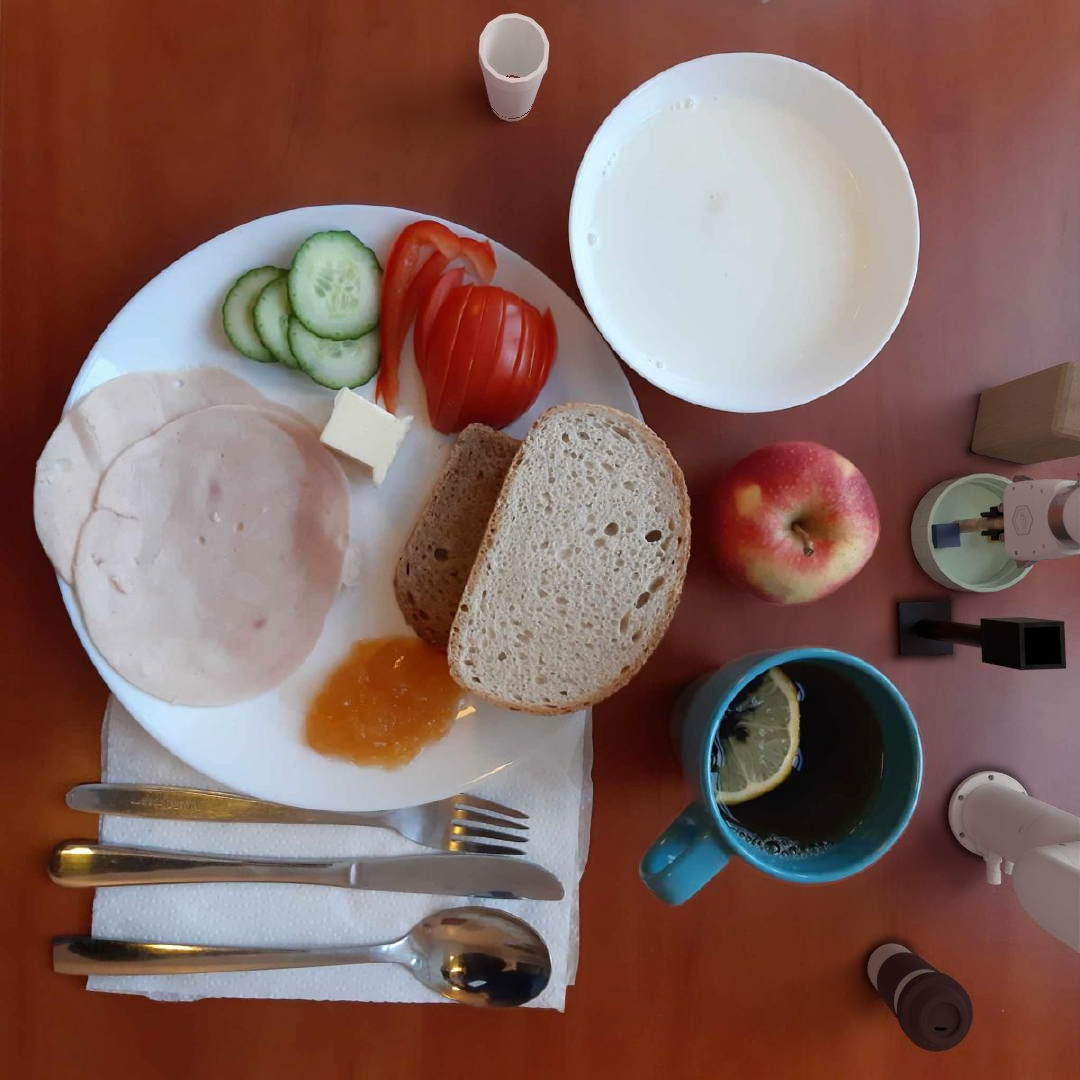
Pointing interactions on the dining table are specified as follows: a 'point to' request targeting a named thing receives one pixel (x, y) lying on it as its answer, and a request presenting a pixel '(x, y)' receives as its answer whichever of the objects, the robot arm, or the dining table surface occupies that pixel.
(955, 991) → the coffee cup
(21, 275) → the dining table surface
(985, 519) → the stick
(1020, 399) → the wooden block
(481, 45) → the foam cup
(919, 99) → the dining table surface
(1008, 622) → the holder
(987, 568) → the bowl
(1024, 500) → the robot arm
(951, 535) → the navy block
